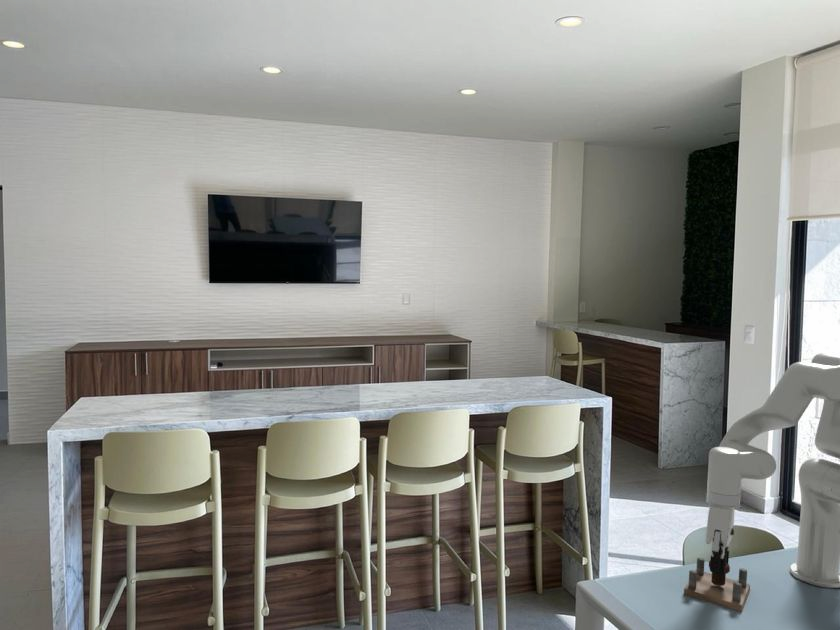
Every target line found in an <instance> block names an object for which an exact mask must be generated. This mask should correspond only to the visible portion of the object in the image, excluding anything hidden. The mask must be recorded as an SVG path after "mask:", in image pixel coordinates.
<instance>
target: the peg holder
mask: <svg viewBox="0 0 840 630" xmlns="http://www.w3.org/2000/svg"><path fill="white" fill-rule="evenodd" d="M705 560H706V559H704V558H703V557H697V558H696V569H695V570H693V569H691V570H689V571H688V581H687V583H686V584H685V586H684V588H683V595H684V596H687V597H691V598H694V599H698V600H701V601H704V602H707V603H711V604H715V605H718V606H722V607H725V608H728V609H731V610H734V611H738V612H743V609H744V606H745V604H746V601H747V599H748V596H749V593H750V591H751V584H750V583H747V580H748V570H747V569H745V568H739V571H738V580H735V579H731V578H727V577H726V579H725V584H724V585H723V586H718V585H714V584H713V583H712V582H711V579H712V573H711V572H710V573H709V572H707V571H706V572H705Z"/></svg>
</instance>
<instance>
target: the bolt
mask: <svg viewBox="0 0 840 630" xmlns="http://www.w3.org/2000/svg"><path fill="white" fill-rule="evenodd" d="M734 534H735V529H734V527H733V528H732V530H731V535H732V536H734ZM720 545H722V546H723V544H722V543H720ZM719 550H721V551H722V548H719ZM727 551H728V550H727V547H726V548H725V551H724V558H725V571H724V574H723V575H721V574H718V573H714V572H711V574H712V579H711V582H712V583H713V584H714V585H718V586H723V585H724V584H725V579H726V578H727V577H726V575H727V574H729V573H730V571H731V567H730V564H729V562H728V563H727ZM708 567H709V569H710V560H709V561H708Z"/></svg>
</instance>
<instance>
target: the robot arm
mask: <svg viewBox="0 0 840 630" xmlns="http://www.w3.org/2000/svg"><path fill="white" fill-rule="evenodd" d="M815 398H816V399H821V400H823V404H822V405H823V406H822V409H821V413H820V418H819V422H818V424H817V428H816V433H815V438H814V444H815V447H816V449H817V450H818V451H819V452H821V453H822V454H825V455H827V456H830V457H833V458H835V459H839V460H840V353H836V352H819V353H818V354H816V355H814V356H813V358H812V360H811V362H809V361H808V362H805V361H796V362H794V363H792V364H791V365H789V366H788V367H787V368H786V370H785V371H784V373H783V375H782V376H781V378H780V379H779V381H778V382H777V384H776V385H775V387H774V389H773V390H772V391H771V393H770V395H769V396H768V397H767V399H766V400H765V402H764V404H763V405H762V406H760V407H759V408H756V409H755V410H752V411H751V412H749V413H748V414H746V415H744V416H743V417H741V418H740V419H738V420H737V421H735V422H734V423H733V424H732V425H731V426H730V428H729V429H728V430H727V432H726V433H725V435H724V436H723V438H722V439H721V442H720V443H719V445H718V446H715V447H714V446H713V447H712V448H711V449H710V450H709V453H708V468H707V469H708V470H707V484H706V485H707V487H706V500H705V501H706V503H707V504H709V509H708V512H707V513H708V514H707V523H706V533H705V543H706V544H707V545H710V544H711V553H710V560H709V561H710V568H709V571H710V573H712V572H714V573H718V574H721V575H723V574H724V571H725V558H724V551H725V548H726V547H727V563H728V564H729V561H730V560H729V558H730V556H729V555H730V551H729V549H730V542H731V540H732V539H733V535H731V530H732V528H733V529H734V524H735V512H736V511H735V510H736V509H739V508H740V507H741V488H742V480H743V479H746V480H755V481H757V480H758V481H759V480H761V481H762V480H766V479H768V478H771V476H773V475H774V473H776V470H777V461H776V459H775V457H774V456H773V455H772V454H771V452H768V451H766V450H764V449H761V448H759V447H756V446H753V445H751V444H750V442H752V441H753V440H754V439H755V438H756V437H758V436H760V435H761V434H765V433H767V432H771V431H775V430H781V429H783V430H784V429H787V428H791V427H795V426H796V425H797V424H798V423H799V421H800V419H801V418H802V416H803V415H804V414H805V412H806V411H807V409H808V407H809V405H810V404H811V402H812V401H813V399H815ZM798 483H799V489H800V490H799V491H800V516H799V529H798V530H799V531H798V544H797V545H798V546H797V558H796V559H797V561H796V562H794V563H792V564H790V566H789V572H790V574H791V575H792V576H793V577H795V578H796V579H798V580H800V581H802V582H804V583H807V584H810V585H811V586H812V585H813V586H816V587H821V588H828V589H829V588H831V589H835V588H836V589H838V588H839V589H840V463H836V462H834V461H830V460H827V459H823V458H809V459H808V460H806V461H804V462H803V463H802V464H801V465H800V467H799V471H798ZM720 543H722V544H723V546H722V545H720ZM719 548H722V551H721V550H719Z"/></svg>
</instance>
